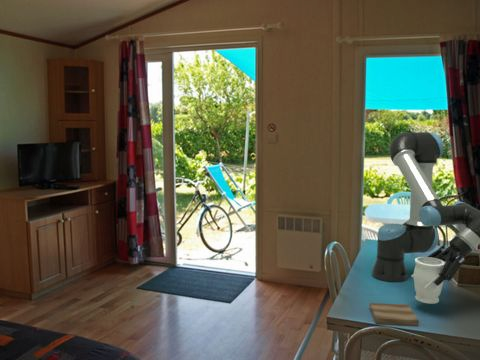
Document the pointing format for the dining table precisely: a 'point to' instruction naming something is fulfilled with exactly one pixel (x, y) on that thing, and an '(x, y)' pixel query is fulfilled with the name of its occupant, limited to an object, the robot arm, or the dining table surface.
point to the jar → (427, 278)
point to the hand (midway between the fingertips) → (420, 284)
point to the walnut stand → (393, 314)
